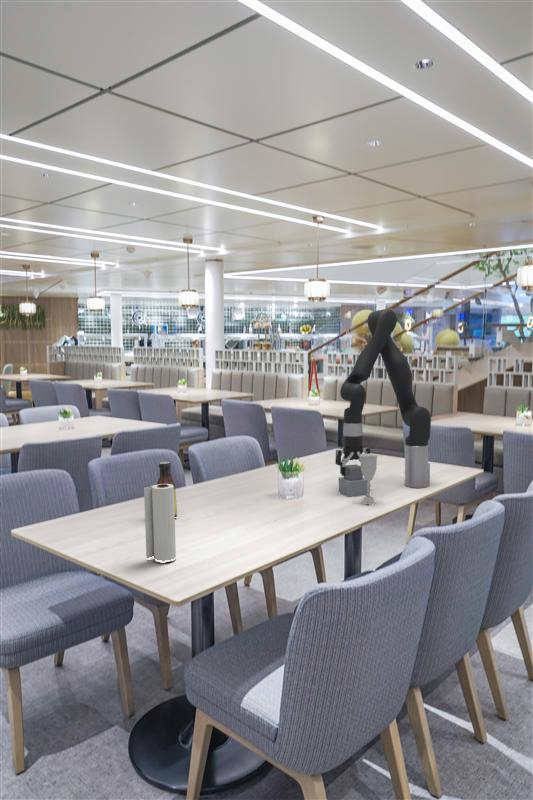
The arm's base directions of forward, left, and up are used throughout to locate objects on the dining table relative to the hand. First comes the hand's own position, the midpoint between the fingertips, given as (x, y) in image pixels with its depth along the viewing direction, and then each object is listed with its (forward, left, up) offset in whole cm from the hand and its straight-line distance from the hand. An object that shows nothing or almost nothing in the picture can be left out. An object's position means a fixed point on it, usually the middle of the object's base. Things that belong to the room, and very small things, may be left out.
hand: (353, 474), depth 245 cm
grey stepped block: (0, 0, -8) cm, 8 cm away
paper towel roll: (+83, +48, -8) cm, 96 cm away
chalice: (+1, +15, -8) cm, 17 cm away
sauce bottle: (+75, +8, -8) cm, 76 cm away
